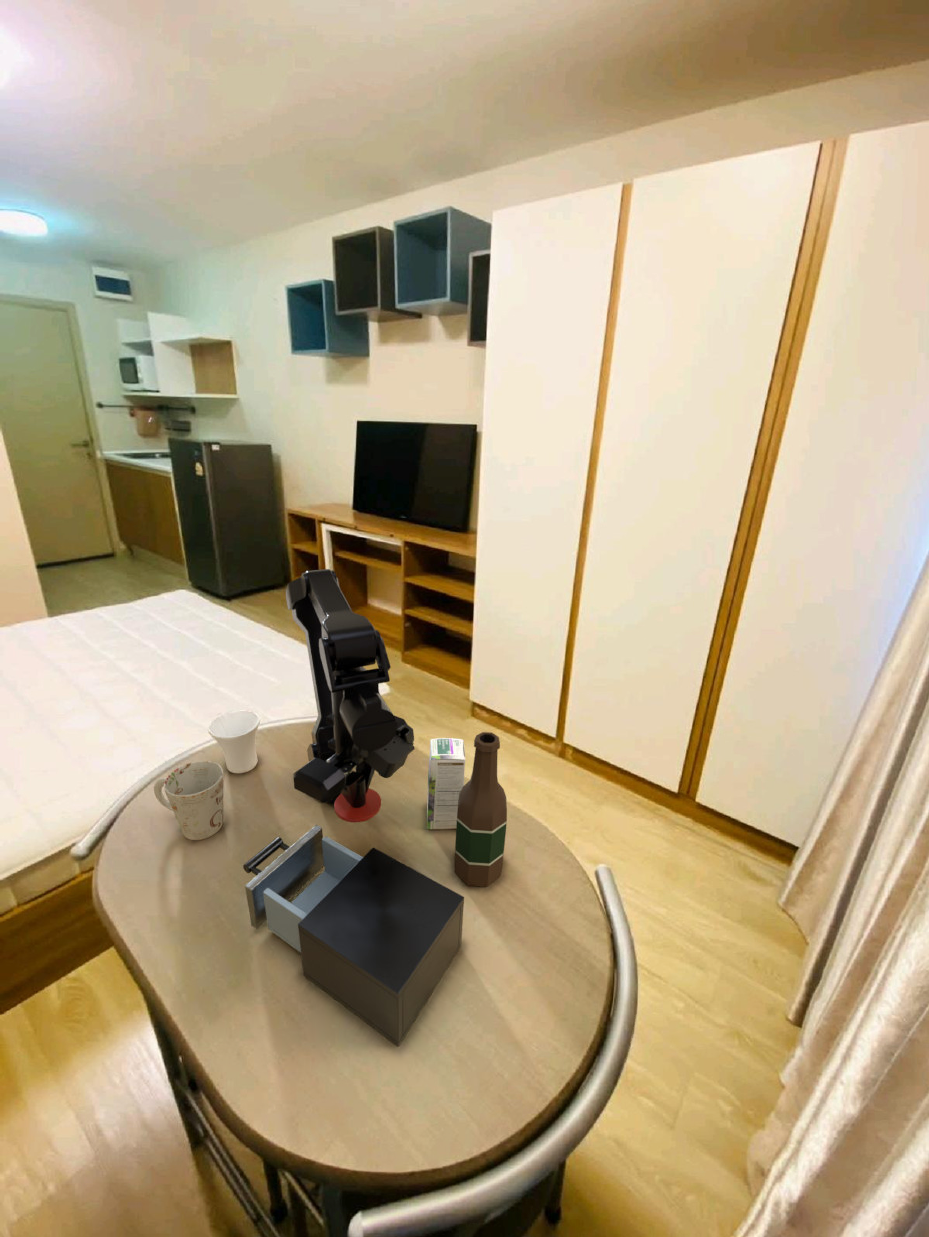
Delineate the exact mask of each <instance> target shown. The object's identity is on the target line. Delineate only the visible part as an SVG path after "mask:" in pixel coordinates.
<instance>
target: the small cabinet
mask: <svg viewBox="0 0 929 1237" xmlns="http://www.w3.org/2000/svg"><path fill="white" fill-rule="evenodd" d="M362 857H363V858H362V859H361V860H360V861H359V862H358V863H357V864H356V865H355V866H354V867H353V868H352V869H351V870H350V871H349V872H348V873H347V874H346V875H345V877H344V878H343V879H342V880H341V881H340V882H339V883H338V884H337V885H336V886H335V887H334V888H333V889H332V890H331V891H330V892H329V893H328V894H327V895H326V896H325V897H324V898H323V899H322V900H321V901H320V902H319V903H318V904H317V905H316V906H315V907H314V908H313V909H312V910H311V911H310V912H309V913H308V914H307V915H306V916H305V917H304V919H303V920H302V921H301V922H300V923H299V924H298V929H299V938H300V947H301V953H300V955H301V966H302V972H303V973H302V974H303V977H305V978H306V979H307V980H309V981H310V982H311V983H312V984H314V985H315V986H317V988H319V989H321V990H322V991H323V992H325V993H326V994H327V995H329V996H330V997H331V998H332V999H334V1000H335V1001H337V1002H338V1003H339V1004H341V1005H342V1006H343V1007H345V1008H346V1009H348V1010H349V1011H350V1012H351V1013H352V1014H354V1015H355V1016H357V1017H358V1018H359V1019H360V1020H362V1021H363V1022H365V1023H366V1024H367V1025H368V1026H370V1027H371V1028H373V1030H375V1031H377V1032H378V1033H379V1034H380V1035H381V1036H383V1037H384V1038H385V1039H386V1040H388V1041H390V1042H391V1043H392V1044H394V1045H395V1046H397V1047H398V1048H399V1047H400V1045H401V1044H402V1042H403V1041H404V1039H405V1037H406V1036H407V1034H408V1032H409V1031H410V1029H411V1028H412V1027H413V1025H414V1023H415V1022H416V1020H417V1018H418V1016H419V1015H420V1013H421V1012H422V1010H423V1008H424V1007H425V1005H426V1004H427V1002H428V1001H429V999H430V997H431V996H432V994H433V992H434V991H435V989H436V988H437V986H438V984H439V983H440V982H441V979H442V978H443V977H444V975H445V973H446V972H447V970H448V968H450V965H451V964H452V963H453V960H454V959H455V957H456V956H457V954H458V953H459V951H460V949H461V948H462V938H463V937H462V936H463V923H464V921H463V920H464V908H465V906H464V905H465V897H464V896H463V895H461V894H460V893H457V892H455V891H454V890H452V889H451V888H448V887H446V886H445V885H443V884H441V883H440V882H438V881H436V880H434V879H432V878H430V877H428V876H427V875H425V874H423V873H421V872H420V871H417V870H416V869H414V868H413V867H410V866H408V865H407V864H405V863H403V862H401V861H400V860H397V859H395V858H394V857H392V856H391V855H388V854H387V853H385V852H383V851H381V850H379V849H377V848H376V847H374V846H373V847H371V849H369V851H368V852H367V853H366V854H364V855H363V856H362Z"/></svg>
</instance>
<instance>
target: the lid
mask: <svg viewBox="0 0 929 1237" xmlns="http://www.w3.org/2000/svg"><path fill="white" fill-rule="evenodd" d="M333 807H334V808H333V809H334V810H333V811H334V813H335V815H336V816H337V817H338V819H340V820H342V821H344V822H346V823H347V822H348V823H355V824H356V823H362V822H366V821H368V820H371V819H372V818H374V817H375V816H376V815H377V814H378V813H379V812H380V810H381V808H382V797H381V795H380V794H379V793H378V791H377V790H374V789H372V788H370V787H369V789H368V792H367V793H366V789H365V777H364V775H363V776H362V777H361V778H360V779H359V780H357V781H356V800H355V804H354V805H351V804H349V803H348V802H347V801H346V799H345V798H344V796H343V795H342V793H341V794H340V795H339V796H338V797H337V799H336V801H335V804H334V805H333Z"/></svg>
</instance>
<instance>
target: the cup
mask: <svg viewBox="0 0 929 1237" xmlns="http://www.w3.org/2000/svg"><path fill="white" fill-rule="evenodd" d="M260 723H261V718H260V716H259V715H258V714H257V713H256V712H254V711H250V710H244V709H243V710H241V709H240V710H239V709H238V710H232V711H228V712H224V713H218V714H217V716H216V717H215V718H214V719H213V720H212V721H211V722H209V725H208V728H207V731H208V735H210V737H211V738H213V739H214V740H215V741H216V743H217V745H218V747H219V748H220V749H221V751H222V754H223V757H224V760H225V764H226V769H227V770H228V771H229V772H230V773H232V774H244V773H248V772H250V771H252V770H253V769H254V768H255V767H256V766H257V764H258V762H259V761H258V760H259V758H258V755H257V748H256V747H257V745H256V743H257V734H258V730H259V726H260Z"/></svg>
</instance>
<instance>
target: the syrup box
mask: <svg viewBox="0 0 929 1237" xmlns="http://www.w3.org/2000/svg"><path fill="white" fill-rule="evenodd" d="M465 748H466V747H465V742H464V739H462V738H454V737H453V738H452V737H437V738H431V739H430V740H429V756H428V773H427V798H426V799H427V803H426V806H427V807H426V827H427V830H453V829H455V830H456V825H457V809H458V800H459V793H460V792H461V790H462V788H463V786H464V785H465V772H466V749H465Z"/></svg>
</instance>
